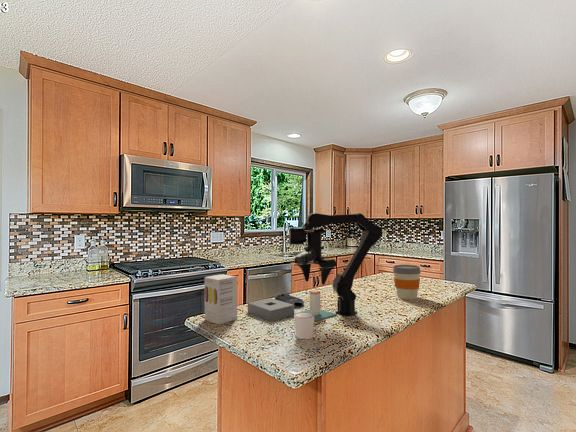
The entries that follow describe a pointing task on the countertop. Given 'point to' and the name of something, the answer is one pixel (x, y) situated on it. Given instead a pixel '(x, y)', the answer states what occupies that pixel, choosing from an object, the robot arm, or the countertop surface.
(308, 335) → the white cylinder
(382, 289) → the countertop surface
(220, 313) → the supplement box
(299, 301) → the electronic device
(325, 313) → the mat
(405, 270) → the reusable coffee cup
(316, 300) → the plug
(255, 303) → the grey flat block
